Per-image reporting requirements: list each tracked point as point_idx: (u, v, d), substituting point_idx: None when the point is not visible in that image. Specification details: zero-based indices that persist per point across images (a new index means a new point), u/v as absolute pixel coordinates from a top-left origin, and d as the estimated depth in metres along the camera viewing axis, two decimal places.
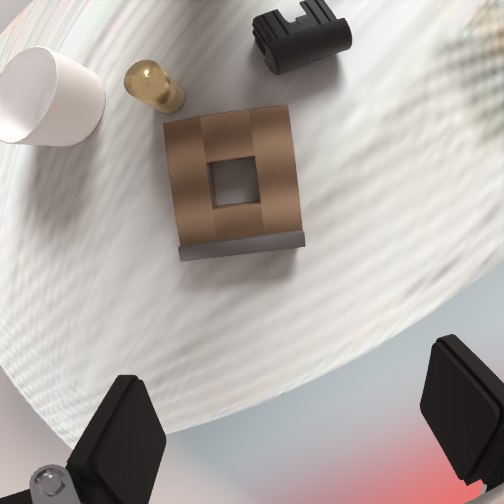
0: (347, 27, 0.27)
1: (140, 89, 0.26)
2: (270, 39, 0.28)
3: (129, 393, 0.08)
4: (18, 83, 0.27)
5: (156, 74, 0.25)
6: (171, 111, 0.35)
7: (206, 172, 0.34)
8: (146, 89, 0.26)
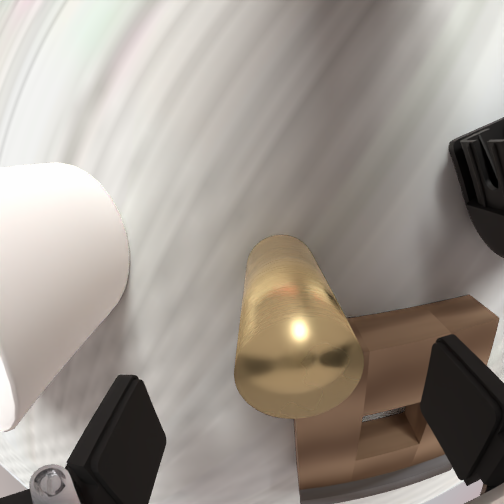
0: None
1: (292, 403, 0.09)
2: None
3: (129, 393, 0.08)
4: None
5: (347, 368, 0.09)
6: None
7: (359, 426, 0.17)
8: (311, 404, 0.09)
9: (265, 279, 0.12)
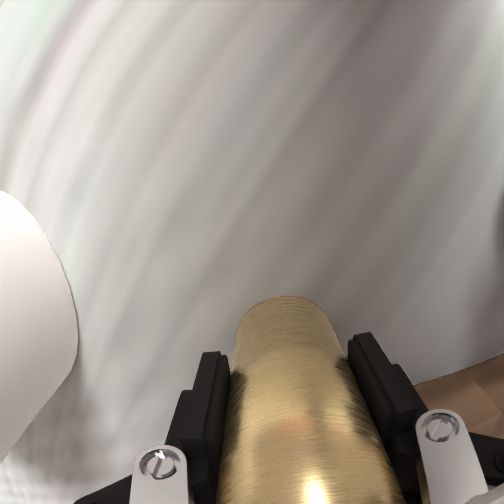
0: None
1: None
2: None
3: (220, 367, 0.09)
4: None
5: None
6: None
7: None
8: None
9: (262, 420, 0.06)
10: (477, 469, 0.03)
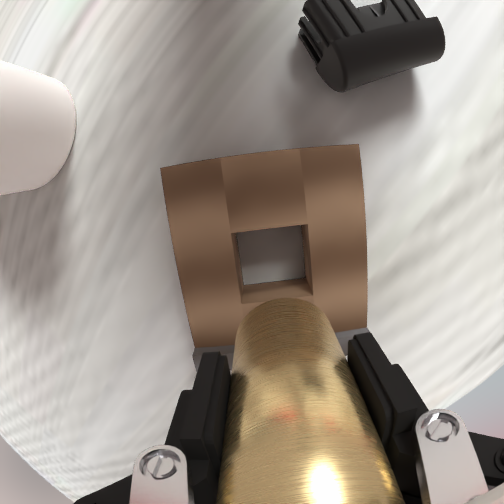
0: (441, 31, 0.15)
1: None
2: (335, 36, 0.16)
3: (220, 367, 0.09)
4: None
5: None
6: None
7: (231, 249, 0.22)
8: None
9: (262, 422, 0.06)
10: (477, 469, 0.03)
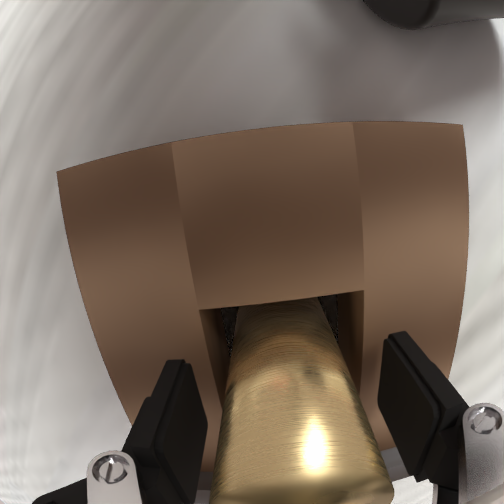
0: None
1: None
2: None
3: (181, 376, 0.08)
4: None
5: None
6: None
7: (202, 339, 0.10)
8: None
9: (257, 367, 0.08)
10: None
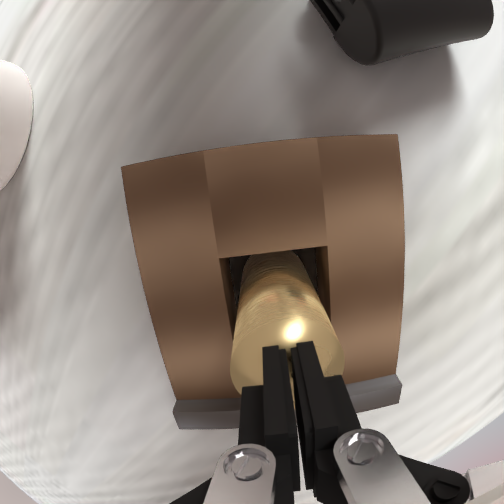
0: (490, 0, 0.09)
1: None
2: None
3: (283, 361, 0.09)
4: None
5: (330, 365, 0.10)
6: None
7: (220, 280, 0.16)
8: None
9: (258, 287, 0.13)
10: (392, 501, 0.04)
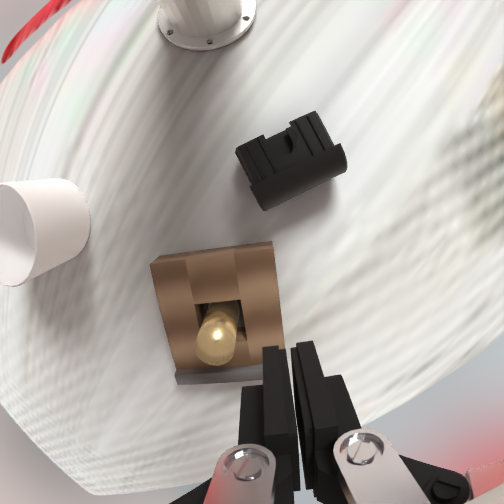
0: (342, 155, 0.29)
1: (213, 359, 0.30)
2: (254, 178, 0.30)
3: (283, 361, 0.09)
4: None
5: (228, 348, 0.30)
6: None
7: (195, 313, 0.36)
8: (219, 360, 0.30)
9: (208, 318, 0.33)
10: (392, 501, 0.04)
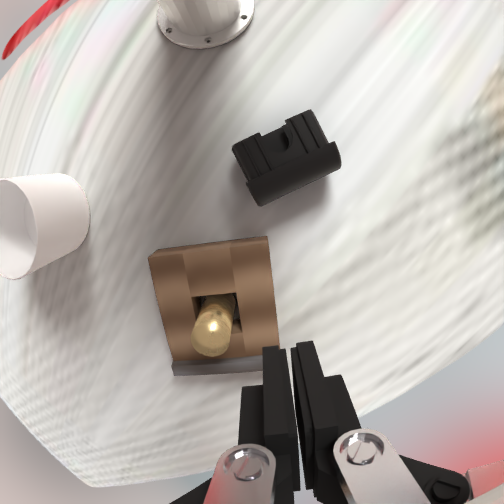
0: (336, 153, 0.30)
1: (209, 350, 0.31)
2: (250, 174, 0.31)
3: (283, 361, 0.09)
4: (0, 200, 0.29)
5: (223, 339, 0.31)
6: None
7: (192, 305, 0.37)
8: (215, 351, 0.31)
9: (204, 310, 0.34)
10: (392, 501, 0.04)
